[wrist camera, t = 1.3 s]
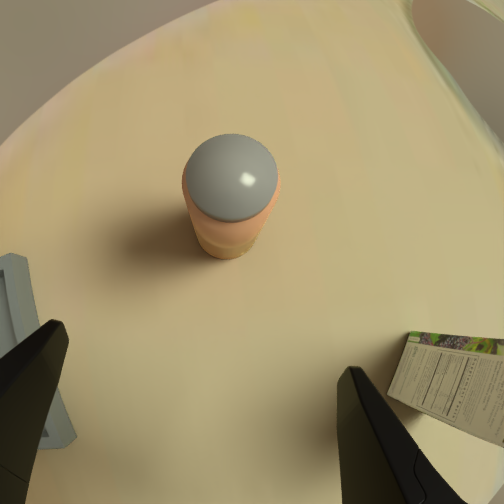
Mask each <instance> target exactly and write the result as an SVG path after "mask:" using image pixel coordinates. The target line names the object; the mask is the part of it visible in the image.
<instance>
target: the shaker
mask: <svg viewBox="0 0 504 504" xmlns="http://www.w3.org/2000/svg"><path fill="white" fill-rule="evenodd" d="M182 190H183V194H184V198H185V201H186V204H187V208H188V211H189V214H190V217H191V221H192V224H193V227H194V230H195V233H196V236H197V239H198V242H199V244H200V245H201V247H202V248H203V249H204V250H205V251H206V252H207V253H208V254H210V255H211V256H214V257H216V258H219V259H234V258H237V257H240V256H242V255H243V254H245V253H246V252H247V251H248V250H249V249H250V248H251V247H252V246H253V244H254V242H255V240H256V239H257V237H258V235H259V233H260V231H261V229H262V227H263V226H264V224H265V222H266V220H267V218H268V216H269V214H270V213H271V211H272V209H273V207H274V205H275V203H276V201H277V199H278V196H279V193H280V174H279V171H278V168H277V165H276V162H275V160H274V158H273V156H272V155H271V153H270V152H269V151H268V149H267V148H266V147H265V146H263V145H262V144H261V143H260V142H258V141H256V140H255V139H253V138H250V137H248V136H244V135H239V134H224V135H219V136H215V137H213V138H210V139H208V140H207V141H205V142H204V143H202V144H201V145H200V146H199V147H198V148H197V149H196V150H195V151H194V152H193V154H192V155H191V157H190V159H189V160H188V162H187V164H186V166H185V168H184V171H183V175H182Z"/></svg>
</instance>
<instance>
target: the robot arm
mask: <svg viewBox="0 0 504 504" xmlns="http://www.w3.org/2000/svg"><path fill="white" fill-rule="evenodd" d="M68 344H69V338H68V335H67V332H66V329H65V326H64V324H63V322H61V321H58V320H54V319H51V320H49V321H48V322H46V323H45V324H44V325H42V326H41V327H40V328H38V329H37V330H36V331H34V332H33V333H32V334H31V335H29V336H28V337H27V338H25V339H24V340H23V341H22V342H20V343H19V344H18V345H16V346H15V347H14V348H13V349H11V350H10V351H9V352H8V353H6V354H5V355H4V356H3V357H1V358H0V504H25V501H26V496H27V491H28V486H29V484H28V483H29V481H30V477H31V473H32V469H33V465H34V461H35V457H36V453H37V449H38V446H39V442H40V439H41V435H42V432H43V429H44V425H45V422H46V419H47V416H48V413H49V410H50V407H51V404H52V401H53V398H54V395H55V392H56V389H57V386H58V383H59V379H60V375H61V371H62V367H63V363H64V359H65V355H66V352H67V348H68ZM337 438H338V449H339V461H340V475H341V490H342V504H468V503H466V502H465V501H464V500H462V499H461V498H460V497H459V496H458V494H457V493H456V492H455V491H454V490H453V489H452V488H451V487H450V485H449V484H448V483H447V482H446V481H445V480H444V479H443V478H442V476H441V475H440V474H439V473H438V472H437V471H436V469H435V468H434V467H433V466H432V464H431V463H430V462H429V460H428V459H427V458H426V456H425V455H424V454H423V452H422V451H421V449H418V448H419V447H418V445H417V444H416V442H415V441H414V440H413V438H412V437H411V435H410V434H409V433H408V431H407V430H406V428H405V427H404V426H403V424H402V423H401V422H400V420H399V419H398V417H397V416H396V415H395V413H394V412H393V410H392V409H391V408H390V406H389V405H388V404H387V402H386V401H385V399H384V398H383V397H382V395H381V394H380V393H379V391H378V390H377V388H376V387H375V386H374V384H373V383H372V382H371V380H370V379H369V378H368V376H367V375H366V373H365V372H364V371H363V369H362V368H361V367H358V366H349V367H347V368H346V369H345V371H344V373H343V374H342V376H341V377H340V378H339V380H338V384H337Z"/></svg>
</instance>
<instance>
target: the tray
mask: <svg viewBox="0 0 504 504" xmlns="http://www.w3.org/2000/svg"><path fill="white" fill-rule="evenodd" d="M38 328H40V325H39V320H38V316H37V311H36V307H35V302H34V297H33V292H32V286H31V280H30V274H29V268H28V261H27V258H26V257H23V256H20V255H17V254H14V253H9V254H6V255H4V256H1V257H0V358H1V357H3V356H4V355H5V354H6V353H8V352H9V351H10V350H11V349H13V348H14V347H15V346H16V345H18V344H19V343H20V342H22V341H23V340H24V339H25V338H27V337H28V336H29V335H31V334H32V333H33V332H34V331H36V330H37V329H38ZM75 438H77V436H76V434H75V431H74V429H73V426H72V424H71V422H70V419H69V417H68V414H67V412H66V409H65V406H64V404H63V401H62V398H61V395H60V393H59V390H58V387H57V389H56V392H55V395H54V398H53V401H52V404H51V407H50V410H49V413H48V416H47V419H46V422H45V425H44V429H43V432H42V435H41V439H40V442H39V446H38V449H58V448H65V447H66V446H68V445H69V444H70V443H71V442H72V441H73V440H74V439H75Z"/></svg>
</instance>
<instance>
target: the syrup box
mask: <svg viewBox="0 0 504 504" xmlns="http://www.w3.org/2000/svg"><path fill="white" fill-rule="evenodd" d="M387 395H388V396H390V397H392V398H394V399H396V400H398V401H400V402H402V403H404V404H406V405H408V406H410V407H412V408H414V409H416V410H418V411H420V412H422V413H424V414H427V415H429V416H431V417H433V418H435V419H438V420H440V421H442V422H444V423H446V424H449V425H451V426H453V427H455V428H457V429H459V430H462V431H464V432H466V433H468V434H471V435H473V436H475V437H478V438H480V439H483V440H485V441H488V442H490V443H493V444H495V445H498V446H501V447H503V448H504V339H493V338H482V337H468V336H457V335H446V334H436V333H426V332H417V331H411V333H410V334H409V337H408V340H407V343H406V346H405V348H404V351H403V354H402V357H401V359H400V362H399V365H398V367H397V370H396V372H395V375H394V378H393V380H392V383H391V385H390V388H389V390H388V393H387Z"/></svg>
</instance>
